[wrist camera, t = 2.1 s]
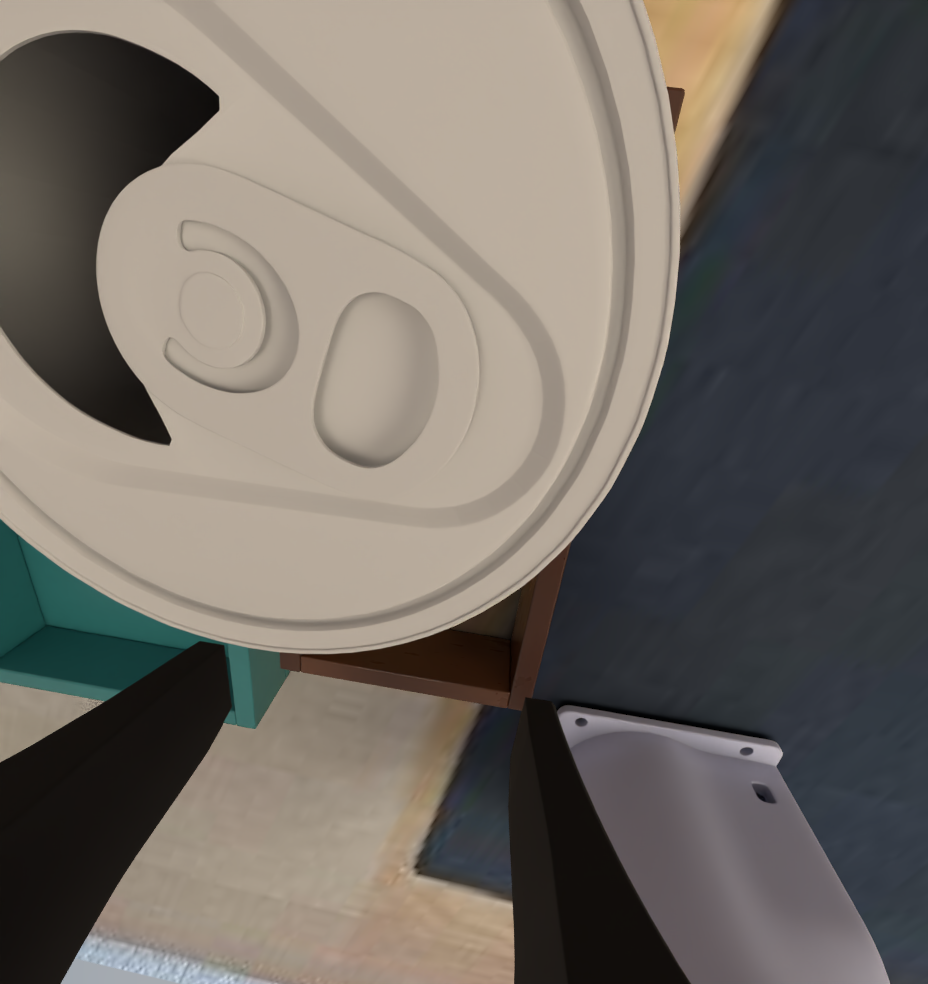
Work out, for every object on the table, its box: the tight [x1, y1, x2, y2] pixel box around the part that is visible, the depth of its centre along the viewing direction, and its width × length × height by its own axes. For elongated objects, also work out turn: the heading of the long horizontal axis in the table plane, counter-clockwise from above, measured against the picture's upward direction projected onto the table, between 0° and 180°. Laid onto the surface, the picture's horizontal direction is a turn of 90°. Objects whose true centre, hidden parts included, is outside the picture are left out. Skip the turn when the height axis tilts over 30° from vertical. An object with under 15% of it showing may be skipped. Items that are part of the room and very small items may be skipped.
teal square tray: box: [0, 519, 289, 729], centre depth 17 cm, size 12×13×3 cm
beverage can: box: [0, 0, 680, 654], centre depth 8 cm, size 6×6×12 cm
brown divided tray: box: [279, 87, 685, 711], centre depth 14 cm, size 9×18×3 cm, turn 173°
